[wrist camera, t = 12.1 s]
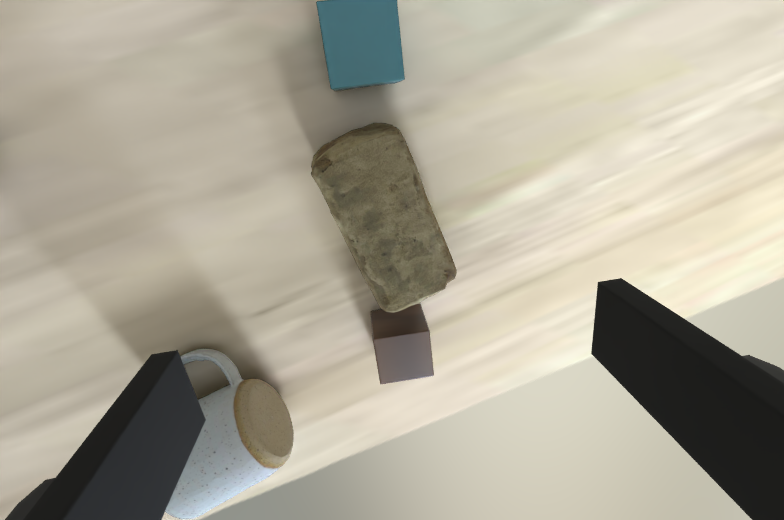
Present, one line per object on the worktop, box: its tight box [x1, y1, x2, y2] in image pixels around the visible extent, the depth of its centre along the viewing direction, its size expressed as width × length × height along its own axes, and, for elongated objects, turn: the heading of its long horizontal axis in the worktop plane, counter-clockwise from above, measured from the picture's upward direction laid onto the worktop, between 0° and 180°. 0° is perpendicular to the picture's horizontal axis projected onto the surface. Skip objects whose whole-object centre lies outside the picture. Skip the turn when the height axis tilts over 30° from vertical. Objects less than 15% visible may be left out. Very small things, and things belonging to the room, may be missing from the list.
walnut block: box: [371, 304, 434, 384], centre depth 30 cm, size 4×4×4 cm
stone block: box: [311, 123, 456, 313], centre depth 25 cm, size 6×12×5 cm, turn 24°
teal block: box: [316, 0, 405, 91], centre depth 22 cm, size 4×4×4 cm
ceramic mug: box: [165, 349, 293, 519], centre depth 29 cm, size 11×8×8 cm
